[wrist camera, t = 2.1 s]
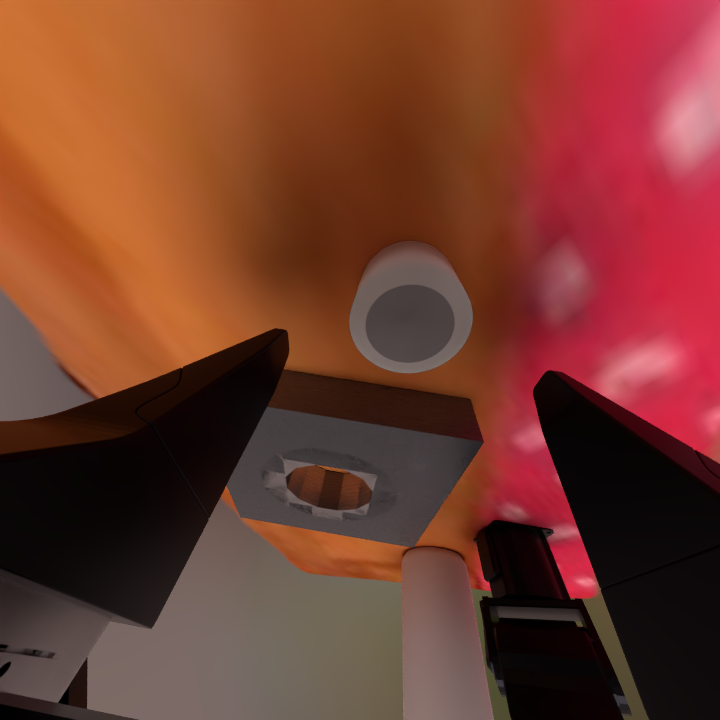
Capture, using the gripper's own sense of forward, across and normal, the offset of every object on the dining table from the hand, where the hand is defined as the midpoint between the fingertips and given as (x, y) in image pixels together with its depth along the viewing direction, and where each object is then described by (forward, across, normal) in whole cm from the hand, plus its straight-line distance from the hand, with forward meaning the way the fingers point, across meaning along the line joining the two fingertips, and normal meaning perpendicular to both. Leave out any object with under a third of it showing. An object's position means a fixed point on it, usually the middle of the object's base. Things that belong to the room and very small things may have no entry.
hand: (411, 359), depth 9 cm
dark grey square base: (+6, +3, +16) cm, 17 cm away
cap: (+6, 0, 0) cm, 6 cm away
